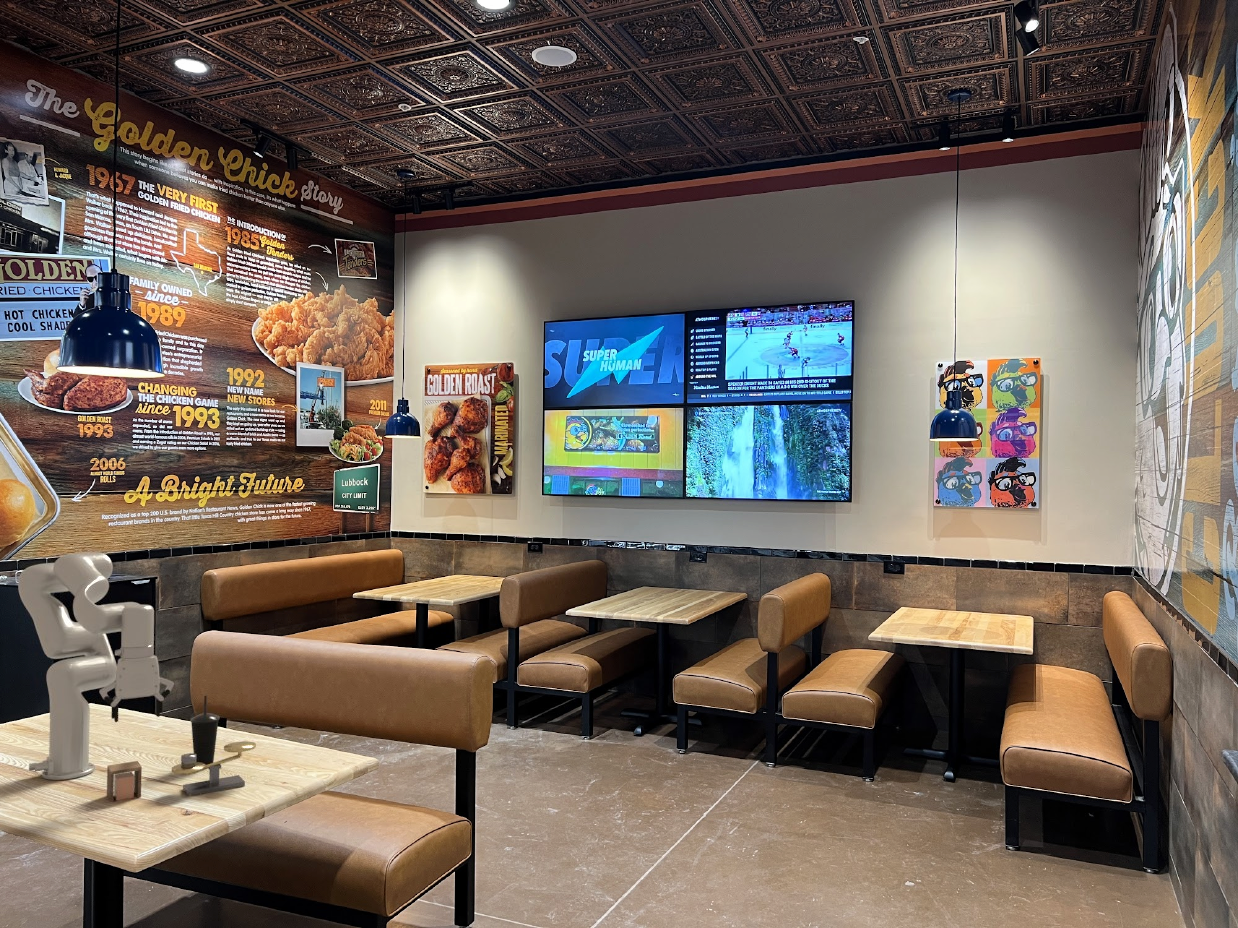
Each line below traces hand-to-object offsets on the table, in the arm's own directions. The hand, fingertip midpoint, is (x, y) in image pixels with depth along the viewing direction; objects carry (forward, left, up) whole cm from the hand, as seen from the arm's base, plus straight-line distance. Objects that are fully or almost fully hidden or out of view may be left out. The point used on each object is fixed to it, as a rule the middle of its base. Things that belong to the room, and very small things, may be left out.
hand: (137, 718), depth 238 cm
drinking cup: (+20, +14, -20) cm, 31 cm away
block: (-3, -1, -20) cm, 20 cm away
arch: (-3, -1, -20) cm, 20 cm away
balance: (+18, -7, -19) cm, 27 cm away
